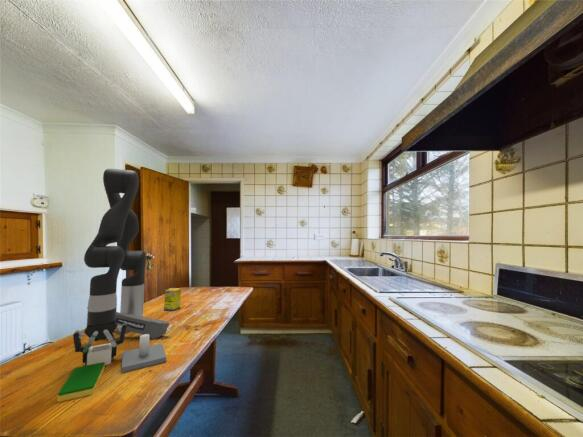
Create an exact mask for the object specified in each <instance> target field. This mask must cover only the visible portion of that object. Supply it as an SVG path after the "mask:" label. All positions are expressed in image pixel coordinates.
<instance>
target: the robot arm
mask: <svg viewBox="0 0 583 437" xmlns="http://www.w3.org/2000/svg"><path fill="white" fill-rule="evenodd" d="M102 174H103V175H102V176H103V177H102V181H103V187H104V191H105V194H106V196H107V197H106V198H107V201H108V203H109V209H107V211H106V212H105V213H104V215H103V216H102V218H101V219H100V224H99V228H98V232H97V234H96V235H95V237H94V239H93V240H92V242H91V243H90V244H89V246H88V247H87V249H86V250H85V253H84V256H83V261H84V264H85V266H87V267H88V268H91V269H98V268H102V269H103V268H109V269H108V270H107V272H106V273H101V274H97V275H94V276H92V277H91V279H90V282H89V298H88V301H87V306H86V308H87V316H86V319H87V320H86V327H85V328H84V329H82V330H76V331H74V333H73V335H72V336H73V346H74V352H75V353H82V363H83V364H84V366H87V354H88V351H89V348H90V347H92V344H93V343H94V342H98V341H104V340H105V341H106V340H108V342H109V343H111V345H112V353H111V360H113V359H114V358H115V357H116V356H117V347H118V345H121V344H123V343H124V340H125V336H126V334H125V331H126V327H127V324H126V323H123V324H117V323H116V312H117V306H118V296H117V289H118V288H117V287H118V286H117V284H118V277H119V273H120V270H121V271H136V272H135V273H134V274H133V275H131V276H128V277H125V278H123V279H122V280H121V288H120V308H119V310H120V311H119V313H126V314H130V315H135V316H140V317H144V300H145V277H146V276H145V275H146V266H147V253H146V252H145V251H144V250H129V249H128V247H129V246H130V244H131V243H132V242H133V240H135V238H136V237H137V235H138V233H139V232H140V225H139V219H138V218H139V217H138V215H137V213H135V211H134V210H133V209H131V208H132V206H133V203H134V201H135V198H136V195H137V193H138V190H139V186H140V178H139V175H138V172H136V171H135V170H131V169H129V170H128V169H119V168H107V169H105V170H104V172H103V173H102ZM120 194H123V195H122V196H121V195H120ZM115 243H116V245H110V244H115ZM117 329H119V331H121V334H120V335H119V338H118V339H117V338H115V335H114V333H113V332H114V331H117ZM84 334H85V336H87V337H88V340H87V342H86V343H85V345H84V346H83V345H82V341H81V338H83V335H84Z"/></svg>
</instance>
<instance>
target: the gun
mask: <svg viewBox="0 0 583 437" xmlns="http://www.w3.org/2000/svg"><path fill="white" fill-rule="evenodd" d="M116 323H117V324H123V323H126V324H127V327H126V331H125V335H127V334H129V333H130V332H131V333H135V334H138V335H139V334H140V335H144V334H149V335H150V336H149V339H158V338H160V337H161V336H163V335H165V334H166V333H167V331H168V327H169V326H170V322H169V321H168V320H162V319H157V318H149V317H144V316H143V317H140V316H135V315H130V314H126V313H120V311H119V312H118V311H116ZM113 334H115V335H118V336H120V334H121V331H119V329H118V328H116V330H115V331H114V332H113Z"/></svg>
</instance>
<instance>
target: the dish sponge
mask: <svg viewBox="0 0 583 437" xmlns="http://www.w3.org/2000/svg"><path fill="white" fill-rule="evenodd" d="M104 364H105V362H102V363H97V364H92V365H87V364H86V365H82V366H76V367H75V368H74V369H73V370H72V372H71V373H70V375H69V377H68V378H67V380H66V381H65V383H63V385H62V386H61V388H60V390H59V391H58V393H57V402H58V403H60V402H64V401H68V400H73V399H77V398H83V397H86V396H91V395H93V394H94V393H95V390H96V389H97V387H98V384H99V382H100V380H101V379H102V375H103V373H104V371H105V366H106V365H104Z"/></svg>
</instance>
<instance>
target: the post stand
mask: <svg viewBox="0 0 583 437" xmlns="http://www.w3.org/2000/svg"><path fill="white" fill-rule="evenodd" d="M149 336H150V335H149V334H144V335H142V334H140V336H139V345H138V346H139V347H138V348H135V349H130V350H129V349H128V350H124V351H122V355H121V373H122V374H123V373H126V372H127V373H128V372H131V371H135V370H137V369H138V370H139V369H143V368H147V367H151V366H155V365H158V364H162V363H166V362H167V355H166V352H165V347H164V344H163V343H158V344H154V345H150V337H149Z"/></svg>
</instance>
